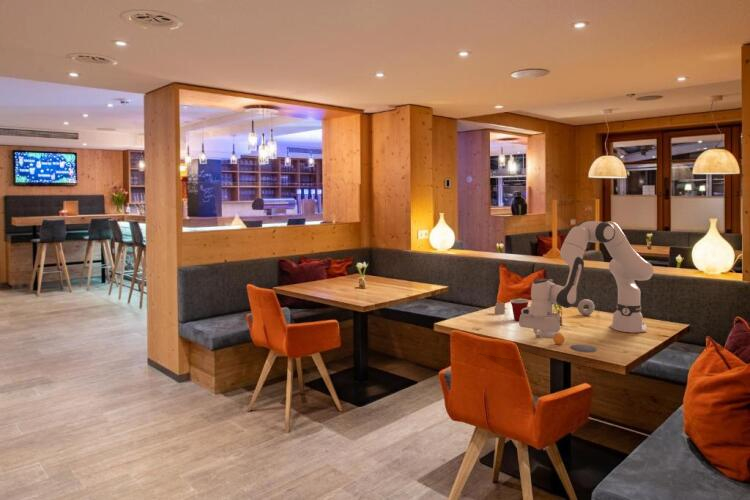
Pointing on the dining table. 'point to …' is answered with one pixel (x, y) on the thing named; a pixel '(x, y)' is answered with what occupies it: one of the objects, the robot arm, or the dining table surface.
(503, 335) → the dining table surface
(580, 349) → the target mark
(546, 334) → the candlestick
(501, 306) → the architectural model
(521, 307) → the plastic cup
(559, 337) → the ball
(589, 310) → the donut
